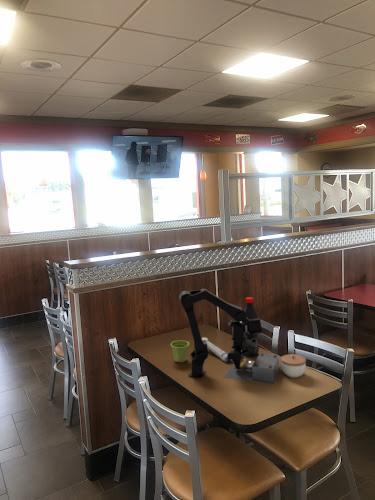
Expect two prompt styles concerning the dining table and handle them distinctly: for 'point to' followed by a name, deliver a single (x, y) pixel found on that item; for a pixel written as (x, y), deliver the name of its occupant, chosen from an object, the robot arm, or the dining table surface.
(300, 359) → the lidded jar
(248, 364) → the silver and amber cylinder
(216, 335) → the dining table surface
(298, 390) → the dining table surface
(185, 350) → the plant pot
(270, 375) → the plate
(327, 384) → the dining table surface
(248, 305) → the cola bottle
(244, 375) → the mat
